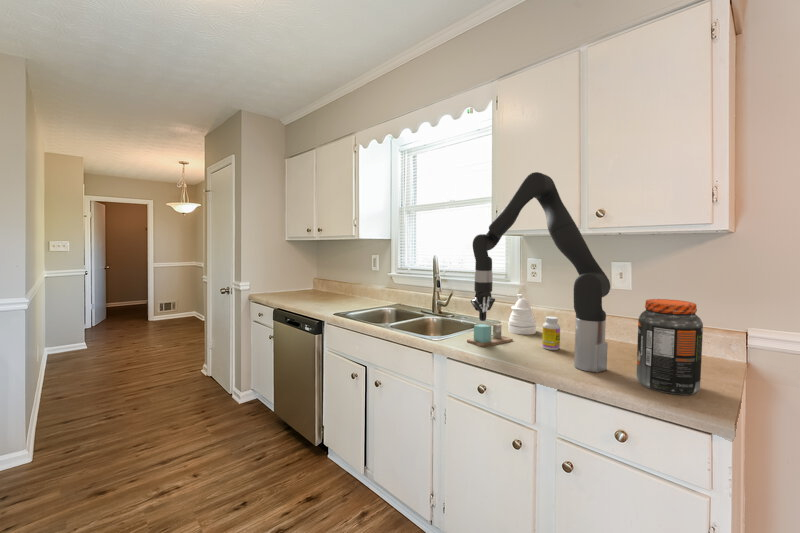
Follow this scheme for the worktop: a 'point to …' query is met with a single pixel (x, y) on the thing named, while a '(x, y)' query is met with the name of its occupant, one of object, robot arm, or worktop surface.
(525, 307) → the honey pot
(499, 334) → the stand
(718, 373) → the worktop surface
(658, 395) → the worktop surface
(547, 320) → the supplement bottle
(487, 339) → the teal block
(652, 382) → the supplement tub
